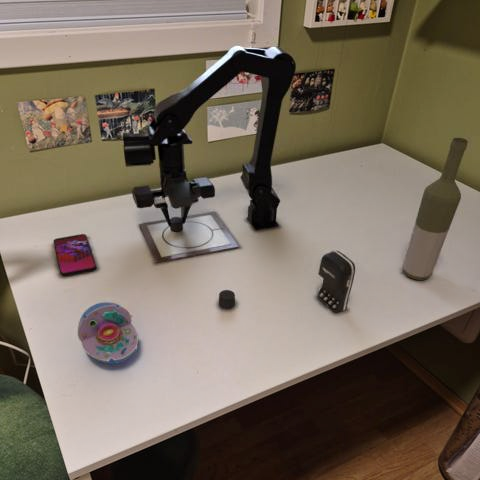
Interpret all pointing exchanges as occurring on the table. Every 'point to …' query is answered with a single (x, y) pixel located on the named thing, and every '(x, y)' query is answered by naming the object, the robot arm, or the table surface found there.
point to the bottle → (435, 217)
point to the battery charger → (336, 280)
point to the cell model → (107, 332)
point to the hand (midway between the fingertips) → (176, 224)
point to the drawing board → (188, 238)
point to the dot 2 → (226, 299)
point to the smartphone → (74, 254)
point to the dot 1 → (176, 224)
